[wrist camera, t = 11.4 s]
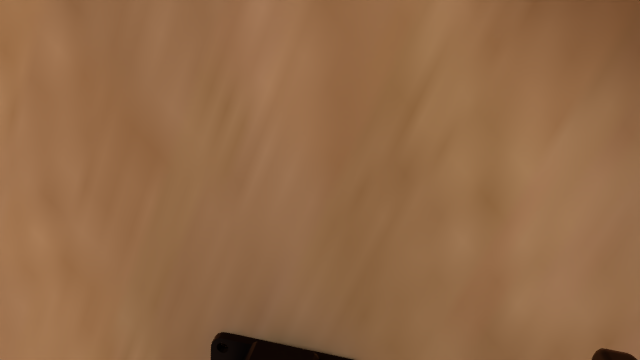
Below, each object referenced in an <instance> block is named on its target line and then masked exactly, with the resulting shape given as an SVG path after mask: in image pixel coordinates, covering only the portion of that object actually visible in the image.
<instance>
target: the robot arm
mask: <svg viewBox="0 0 640 360" xmlns="http://www.w3.org/2000/svg"><path fill="white" fill-rule="evenodd" d="M221 343H224V344H226V345H227V346H228V347H225V346H223V345H222V344H221ZM211 360H352V359H347V358H343V357H338V356H333V355H329V354H324V353H319V352H315V351H310V350H305V349H301V348H296V347H291V346H286V345H282V344H277V343H272V342H268V341H263V340H258V339H254V338H249V337H244V336H240V335H235V334H230V333H224V332H221V333H218V334H217V335H216V336H215V338H214V340H213V341H212V344H211ZM592 360H637V359H636V358H635V357H634V356H632V355H631V354H628V353H624V352H619V351H614V350H609V349H604V348H601V349H599V350H597V351H596V352H595V354H594V355H593V358H592Z"/></svg>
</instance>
